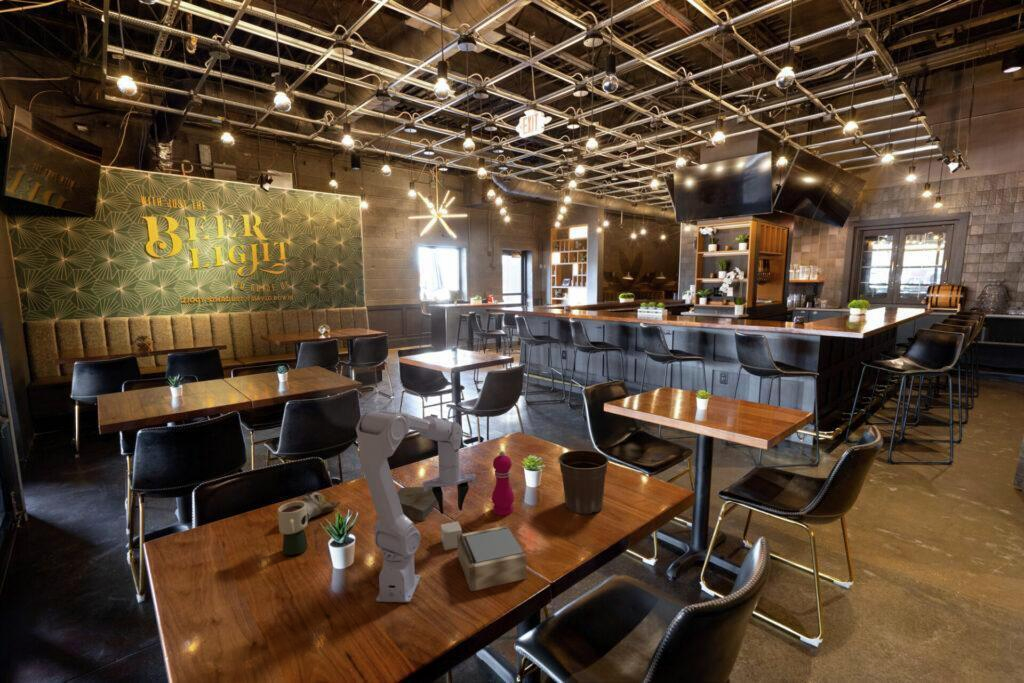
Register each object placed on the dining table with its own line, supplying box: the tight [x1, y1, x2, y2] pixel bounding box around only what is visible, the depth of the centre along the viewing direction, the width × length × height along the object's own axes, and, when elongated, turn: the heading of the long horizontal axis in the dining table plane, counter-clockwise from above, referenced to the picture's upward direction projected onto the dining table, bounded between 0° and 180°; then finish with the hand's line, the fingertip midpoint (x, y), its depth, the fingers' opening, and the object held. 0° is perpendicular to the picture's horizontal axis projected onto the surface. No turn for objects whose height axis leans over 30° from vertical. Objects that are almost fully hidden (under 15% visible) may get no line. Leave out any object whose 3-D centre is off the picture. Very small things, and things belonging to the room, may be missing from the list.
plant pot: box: [557, 449, 610, 515], centre depth 146 cm, size 16×16×16 cm
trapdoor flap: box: [466, 527, 525, 564], centre depth 115 cm, size 12×12×1 cm
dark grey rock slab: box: [397, 486, 438, 522], centre depth 148 cm, size 17×15×4 cm
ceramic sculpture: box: [300, 491, 341, 522], centre depth 143 cm, size 11×9×15 cm
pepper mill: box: [491, 450, 515, 517], centre depth 143 cm, size 7×7×20 cm
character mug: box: [277, 500, 309, 556], centre depth 124 cm, size 11×7×13 cm, turn 22°
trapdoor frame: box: [457, 525, 527, 592], centre depth 115 cm, size 14×15×7 cm
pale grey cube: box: [440, 520, 463, 551], centre depth 126 cm, size 5×5×5 cm
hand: (450, 510), depth 125 cm, fingers open, 5 cm apart
